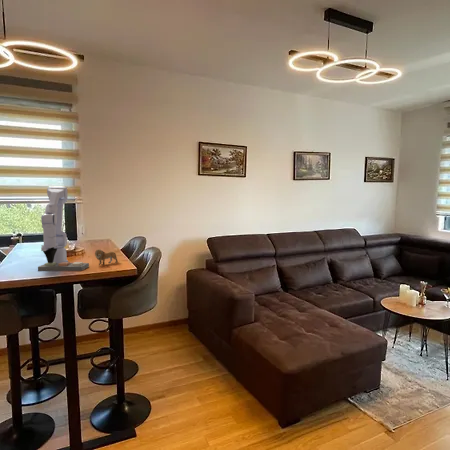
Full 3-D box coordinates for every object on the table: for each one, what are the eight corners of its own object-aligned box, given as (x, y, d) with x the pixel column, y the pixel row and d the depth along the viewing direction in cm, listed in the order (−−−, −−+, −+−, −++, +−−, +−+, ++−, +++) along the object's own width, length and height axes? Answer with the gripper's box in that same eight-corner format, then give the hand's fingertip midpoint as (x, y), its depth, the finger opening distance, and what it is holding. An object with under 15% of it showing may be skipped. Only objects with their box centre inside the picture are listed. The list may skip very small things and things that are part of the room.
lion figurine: (98, 266, 183) (98, 250, 182) (92, 265, 186) (92, 249, 185) (120, 262, 195) (120, 247, 195) (114, 261, 198) (114, 246, 198)
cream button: (75, 266, 179) (75, 262, 179) (83, 266, 179) (83, 262, 179) (72, 268, 175) (72, 263, 175) (80, 268, 175) (80, 263, 175)
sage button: (48, 266, 178) (48, 262, 178) (56, 266, 178) (56, 262, 178) (44, 268, 174) (44, 263, 174) (52, 268, 174) (52, 263, 174)
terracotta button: (62, 266, 178) (61, 262, 178) (69, 266, 179) (69, 262, 178) (58, 268, 174) (58, 263, 174) (66, 268, 175) (66, 263, 174)
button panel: (47, 266, 181) (47, 263, 181) (88, 266, 182) (88, 263, 182) (38, 270, 171) (37, 266, 171) (82, 270, 172) (82, 266, 172)
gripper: (48, 235, 182) (49, 260, 183) (34, 238, 168) (35, 265, 169) (61, 235, 182) (62, 260, 183) (49, 238, 168) (50, 265, 169)
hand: (50, 262), depth 176 cm, fingers closed
